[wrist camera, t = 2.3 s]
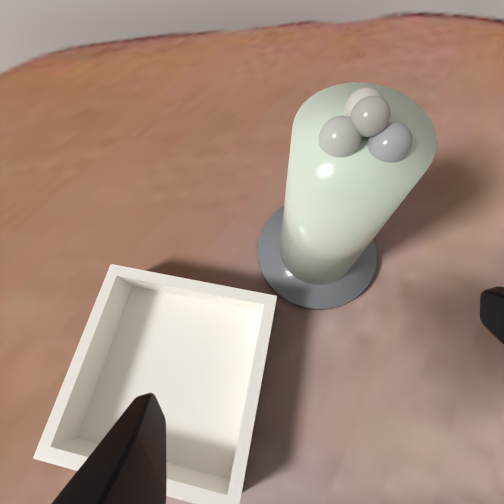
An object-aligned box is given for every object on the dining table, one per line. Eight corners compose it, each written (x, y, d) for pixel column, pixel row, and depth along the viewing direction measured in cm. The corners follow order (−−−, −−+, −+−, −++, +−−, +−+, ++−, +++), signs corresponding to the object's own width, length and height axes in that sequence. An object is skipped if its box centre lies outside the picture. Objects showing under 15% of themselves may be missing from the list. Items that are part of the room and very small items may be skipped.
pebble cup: (356, 223, 24) (457, 53, 11) (350, 291, 22) (465, 176, 9) (286, 211, 25) (307, 39, 12) (273, 277, 23) (283, 151, 10)
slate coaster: (377, 211, 25) (380, 207, 24) (371, 320, 22) (373, 319, 21) (269, 195, 26) (269, 191, 25) (247, 297, 23) (246, 294, 22)
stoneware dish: (275, 306, 22) (277, 295, 19) (242, 492, 18) (237, 515, 15) (130, 278, 24) (110, 264, 21) (68, 446, 20) (32, 458, 17)
